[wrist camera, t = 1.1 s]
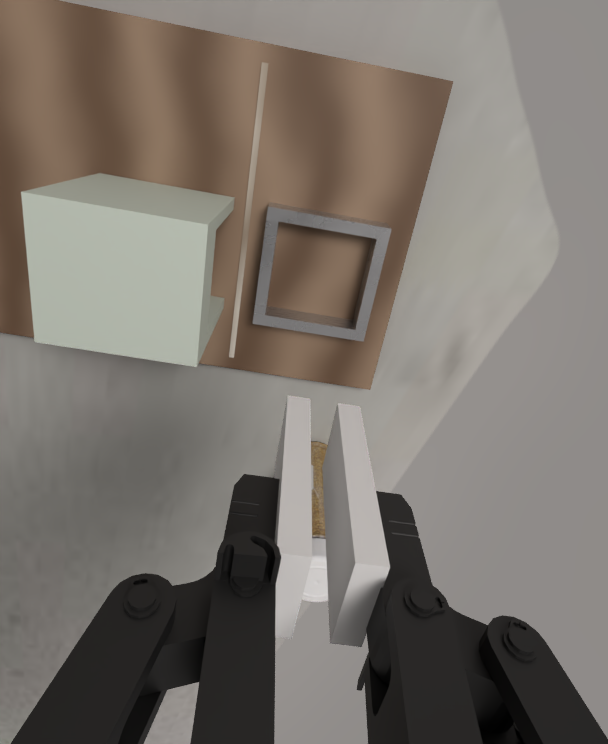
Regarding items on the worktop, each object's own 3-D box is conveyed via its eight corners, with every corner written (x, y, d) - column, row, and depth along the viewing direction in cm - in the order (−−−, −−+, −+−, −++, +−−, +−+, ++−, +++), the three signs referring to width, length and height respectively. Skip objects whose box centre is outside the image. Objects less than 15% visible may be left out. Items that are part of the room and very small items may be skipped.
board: (-10, 322, 39) (-77, 363, 32) (-56, -20, 29) (-166, -63, 22) (368, 380, 41) (380, 431, 34) (446, 83, 31) (485, 72, 24)
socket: (255, 314, 37) (252, 323, 35) (270, 202, 33) (268, 206, 31) (360, 331, 37) (363, 341, 35) (387, 223, 34) (391, 228, 32)
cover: (101, 288, 36) (34, 342, 27) (99, 173, 32) (21, 191, 23) (223, 308, 36) (196, 367, 28) (234, 197, 33) (207, 224, 24)
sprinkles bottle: (287, 441, 44) (280, 560, 32) (337, 438, 44) (349, 557, 32) (291, 480, 46) (286, 606, 34) (339, 478, 46) (351, 604, 34)
